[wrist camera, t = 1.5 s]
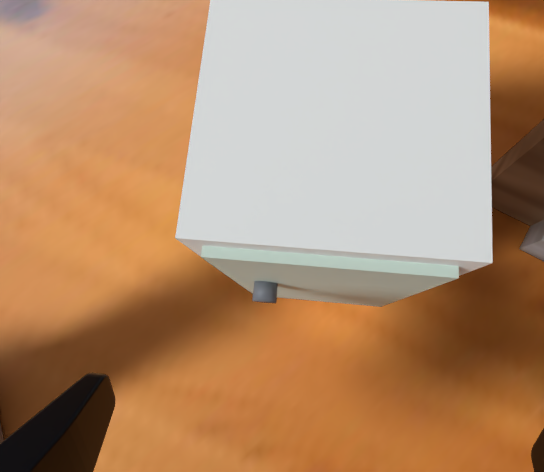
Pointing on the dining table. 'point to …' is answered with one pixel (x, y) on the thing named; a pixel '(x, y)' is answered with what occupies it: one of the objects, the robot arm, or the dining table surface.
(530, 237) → the wall board
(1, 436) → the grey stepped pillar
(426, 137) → the white notched pillar
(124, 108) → the dining table surface
